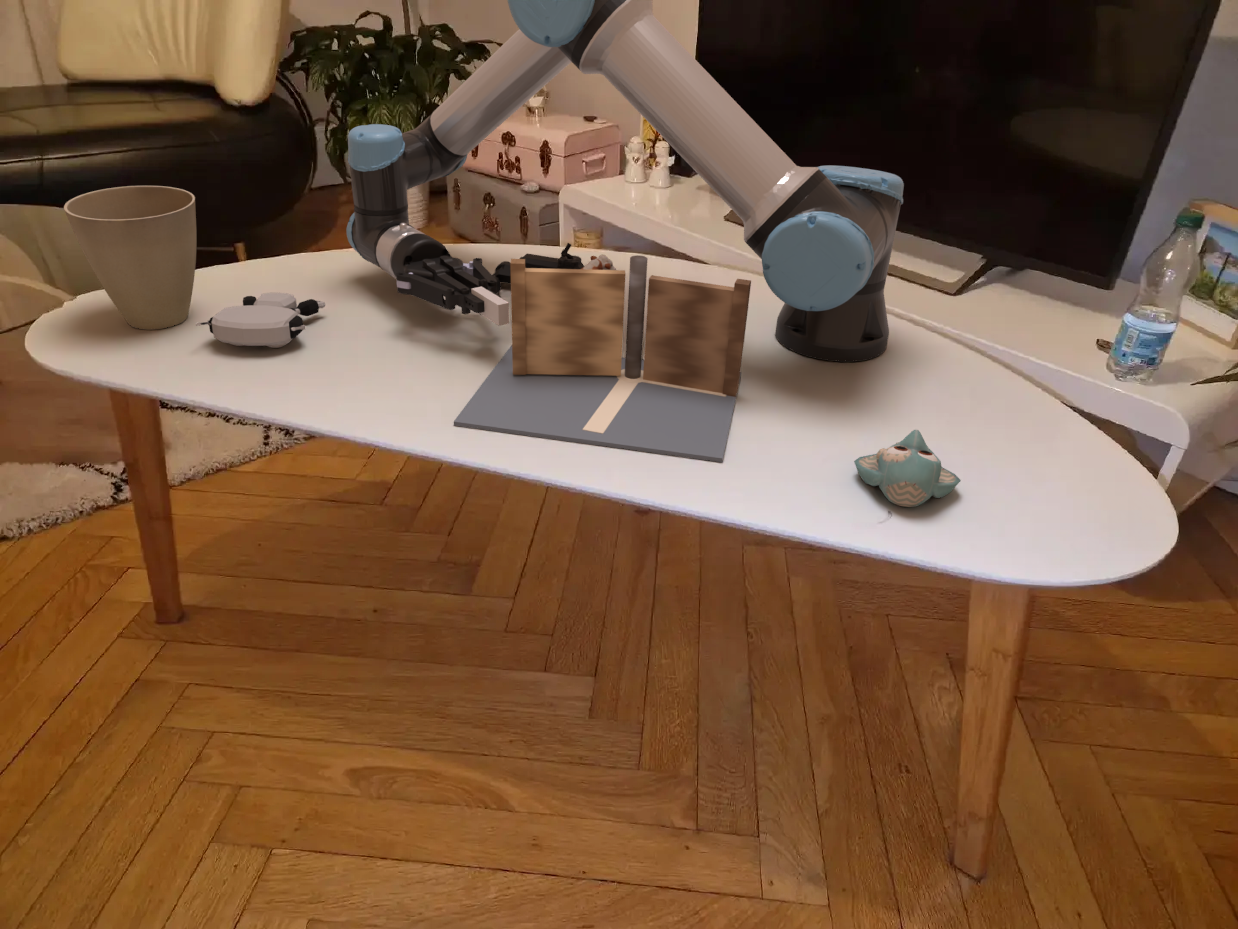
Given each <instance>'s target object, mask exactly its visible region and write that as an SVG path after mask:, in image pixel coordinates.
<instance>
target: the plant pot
mask: <svg viewBox="0 0 1238 929" xmlns="http://www.w3.org/2000/svg"><path fill="white" fill-rule="evenodd" d="M63 210H64V213H65V215H66V217H67V219H68V222H69V224H70V226H71V228H72V230H73V233H74V235H75V238H76V240H77V242H78V244H79V247H80V249H81V250H82V252H83V254H84V256H85V259H86V260H87V262H88V264H89V265H90V267H91V269H92V271H93V273H94V275H95V276H96V278H97V280H98V282H99V283H100V285H101V286H102V288H103V289H104V291H105V292H106V294H107V296H108V298H109V299H110V300H111V301H112V303H113V304H114V306H115V308H116V309H117V310H118V311H119V313H120V314H121V316H122V317H123V318H124V320H125V321H126V322H127V323H128V325H129V326H130V325H131V327H132V328H134V327H135V329H138V328H139V330H147V331H148V330H150V331H151V330H161V329H168V328H171V327H174V325H175V326H177V325H179V324H182V323H183V322H185V321H186V320H187V319H188V316H189V312H190V308H191V307H190V306H191V302H192V295H193V291H194V284H195V283H194V281H195V274H196V265H197V264H196V263H197V218H196V217H197V216H196V214H197V212H196V196H195V195H194V194H193V193H192V192H190V191H188V190H185V189H183V188H177V187H172V186H163V185H127V186H117V187H116V186H115V187H111V188H110V187H109V188H103V189H98V190H94V191H93V190H92V191H90V192H86V193H82V194H80V195H77V196H75V197H73V198H70V199H69V200H68V201H66V202H65V204H64V205H63ZM167 327H168V328H167Z"/></svg>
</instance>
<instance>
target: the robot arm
mask: <svg viewBox="0 0 1238 929" xmlns="http://www.w3.org/2000/svg"><path fill="white" fill-rule="evenodd" d="M653 2H654V1H653V0H507V4H508V9H509V12H510V14H511V16H512V18H513V21H514V23H515V25H516V26H517V28H518V30H516V31H515V32H514V33H513V34H512V35H511V36H510V37H509V38H508V39H507V40H506V41H505V42H504V43H503V44H502V45H501V46H500V47H499V48H498V49H497V50H495V51H494V52H493V54H492V55H491V56H490V57H489V58H488V59H486V61H484V63H482V64H481V65H480V66H479V67H478V68H477V69H476V70H475V71H474V72H473V73H472V74H471V75H470V76H469V77H468V78H466V80H464V81H463V83H462V84H460V85H459V87H457V88H456V89H455V90H454V91H453V92H452V93H451V94H450V95H449V96H448V97H447V98H446V99H445V100H444V101H442V103H441V104H440V105H439V106H437V107H436V109H434V110H433V111H432V113H431V114H430V115H429V116H428V117H426V118H425V119H424V120H423V122H421V123H420V124H419V125H418V126H416V127H415V128H414V129H411V130H408V131H406V132H402V131H401V129H400V128H398V127H396V126H393V125H390V124H389V125H388V124H381V123H380V124H379V123H373V124H367V125H366V124H365V125H364V124H362V125H358V126H355V127H353V128H352V129H350V130H349V132H348V134H347V148H348V150H347V151H348V155H347V156H348V157H347V163H348V166H349V172H350V173H349V174H350V181H351V188H352V190H351V191H352V198H353V207H354V208H353V213H352V214H351V216H350V217H349V221H348V222H347V226H346V229H345V230H346V237H347V241H348V243H349V245H350V246H351V248H352V249H353V250H354V251H355V252H357V253H358V254H359V256H361V258H362V259H364V260H365V261H367V262H369V263H371V264H373V265H375V266H377V267H378V268H380V269H381V270H382V271H384V272H385V273H386V274H388V275H389V276H390V277H392V278H393V279H395V280H396V290H397V293H398V294H401V295H402V294H403V295H409V296H412V297H415V298H418V299H420V300H423V301H425V302H427V303H431V304H432V305H435V306H438V307H440V308H443V309H446V310H450V311H453V310H455V309H456V307H457V306H458V307H459V308H461V314H463V315H469V314H471V313H472V312H473V313H476V314H480V315H481V316H483V317H484V318H486V319H487V320H489V321H491V323H494V324H495V325H497V326H504V325H508V324H510V303H509V302H508V301H506V300H505V299H503V298H502V296H501V295H499V294H498V293H497V280H496V279H495V278H494V277H493V276H492V275H493V274H492V273H491V272H490V271H489V270H488V269H487V268H486V267H485V266H484V265H483V259H482V258H480V257H475V258H473V260H472V261H471V260H470V261H468V262H467V263H465V262H463V260H462V259H461V258H458V257H453V256H452V255H451V254H450V252H449V251H448V249H447V248H446V246H445V244H443V243H442V242H440V241H438V240H436V239H435V238H433V237H431V236H430V235H428V234H425V233H424V232H422V231H420V230H418V229H416V228H415V227H414V226H412V225H410V222H409V203H408V190H409V189H412V188H415V187H418V186H420V185H423V184H425V183H428V182H431V181H434V180H437V179H440V178H443V177H447V176H449V175H452V174H453V173H454V172H455V171H457V170H459V169H460V168H462V167H463V166H464V164H465V163H466V161H467V159H468V154H469V153H470V152H471V151H473V150H474V149H475V148H476V147H477V146H479V144H481V142H483V141H484V140H486V138H487V137H489V135H491V134H492V133H493V132H494V131H495V130H496V129H497V128H499V127H500V126H501V125H502V124H504V123H505V122H506V121H507V120H508V119H509V118H510V117H511V116H513V115H514V114H515V113H516V111H518V110H519V109H521V107H523V105H525V104H526V103H527V102H528V101H529V100H530V99H532V98H533V96H536V94H537V93H539V91H541V90H542V89H543V88H544V87H545V86H546V85H547V84H549V83H550V82H551V81H552V80H553V79H554V78H555V77H557V75H559V74H560V73H561V72H562V71H563V70H564V69H566V68H567V67H568V66H569V65H570V64H573V65H574V66H575V67H576V68H577V69H578V70H579V71H580V72H581V73H582V74H584V75H596V74H597V75H602V76H603V77H604V78H605V79H606V81H607V80H608V82H609V83H610V84H611V85H612V86H613V87H614V88H615V89H616V90H617V91H618V92H619V93H620V95H621V96H622V97H624V98H625V100H627V101H628V103H629V104H630V105H631V106H632V107H633V108H634V109H635V111H637V112H638V113H639V114H640V115H641V116H642V117H643V118H644V119H645V120H646V122H648V124H650V126H651V127H653V129H654V130H655V131H656V132H657V133H658V134H660V136H661V137H662V138H663V139H664V140H665V141H666V142H667V143H668V144H669V145H670V146H671V147H672V149H673V150H674V151H675V152H676V153H677V154H678V155H679V156H680V157H681V158H682V159H683V160H684V161H685V162H686V163H687V164H688V165H689V166H690V167H691V168H692V169H693V170H694V171H695V172H696V174H697V175H698V176H700V178H701V179H703V181H704V182H705V183H706V185H708V186H709V187H710V189H712V190H713V191H714V192H715V194H717V195H718V197H719V198H720V199H722V201H724V203H725V204H726V205H727V206H728V207H729V208H730V209H731V210H732V211H733V212H734V213H735V214H736V215H737V216H738V217H739V218H740V219H741V220H742V223H743V241H744V242H745V243H746V245H747V246H748V247H749V248H750V249H751V250H752V251H753V252H754V253H755V254H756V255H757V256H758V257H759V258H760V260H761V265H762V275H763V278H764V280H765V283H766V284H767V286H768V288H769V289H770V290H771V292H772V294H774V295H775V297H777V298H778V299H779V300H780V301H781V302H783V305H782V308H781V310H780V311H779V313H778V316H777V319H776V325H775V334H774V335H775V337H776V339H777V341H778V342H779V343H780V344H781V345H783V347H785V348H787V349H788V350H791V351H792V352H795V353H798V354H800V355H803V356H806V357H810V358H814V359H817V360H823V361H824V360H825V361H829V362H830V361H831V362H845V363H846V362H847V363H848V362H850V363H851V362H860V361H861V362H863V361H868V360H870V359H875V358H877V357H879V356H881V355H882V354H883V353H884V352H885V351H886V350H887V345H888V339H889V336H890V328H889V320H888V315H887V314H888V313H887V308H886V307H887V306H886V298H885V288H886V287H885V286H886V281H887V277H888V271H889V268H890V267H889V266H890V260H891V257H892V256H891V255H892V250H893V246H894V241H895V235H896V230H897V225H898V221H899V215H900V210H901V205H903V204H904V197H903V195H904V187H905V183H904V181H903V179H902V177H900V176H899V175H897V174H895V173H891V172H887V171H882V170H877V169H870V168H865V167H863V168H862V167H856V166H849V165H848V166H847V165H846V166H845V165H830V164H829V165H820V166H799V165H797V164H796V163H794V161H793V159H791V158H790V157H789V156H788V155H787V154H786V152H784V151H783V150H782V149H781V147H779V145H778V144H777V143H776V142H775V141H773V139H772V138H771V137H770V136H769V135H768V134H767V133H766V132H765V131H764V130H763V129H762V127H760V125H759V124H758V123H756V121H755V120H754V119H753V118H752V117H751V116H750V115H749V114H748V113H747V112H746V111H745V110H744V109H743V108H742V107H741V105H739V104H738V103H737V101H736V100H734V98H733V97H731V95H730V94H729V93H728V92H727V90H725V88H724V87H722V85H720V84H719V82H717V81H716V79H715V78H714V77H713V76H712V75H711V74H710V73H709V72H708V71H707V70H706V69H705V68H704V67H703V66H702V64H700V62H698V60H696V59H695V57H694V56H693V55H692V54H691V53H690V52H689V51H688V50H687V49H686V48H685V47H684V45H682V43H680V42H679V41H678V39H677V38H676V37H675V36H674V35H673V34H671V32H670V31H669V30H668V29H667V28H666V27H665V26H664V25H663V24H662V23H661V21H659V20H658V19H657V17H655V15H654V12H653V10H654V9H653V7H654V5H653ZM471 311H472V312H471Z"/></svg>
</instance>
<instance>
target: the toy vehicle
mask: <svg viewBox="0 0 1238 929" xmlns="http://www.w3.org/2000/svg"><path fill="white" fill-rule="evenodd" d="M571 247H572V244H571V243H569V242H567V244H566V246H565V247H564V248H563V249H562V250H561V252H560V255H561V256H560V257H559V258H557V257H554V256H553V257H552V256H545V255H541V254H540V255H539V254H533V253H527V252H526V253H525V255H524V256H521V257H520V258H518V259H525V268H545V269H582V268H583V267H585V266H586V265H584V264H583V261H582V257H580V256H579V255H571V254H570V253H568V252H569V251H570V249H571ZM510 263H511V261H507V260H505V261H501V262H500V263H499V264H497V266H496V267H495V269H494V273H493V274H491V275H492V276H493V277H494V278H495V279H496V280H497V294H498V293H500V291H501V289H502V284H503V283H504V284H509V285H511V266H510Z"/></svg>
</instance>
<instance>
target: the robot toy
mask: <svg viewBox="0 0 1238 929" xmlns="http://www.w3.org/2000/svg"><path fill="white" fill-rule="evenodd" d="M325 307H326V302H325V301H321V300H319V299H318V300H315V299H312V298H311V299H310V298H309V299H306V300H303V301H301V302H299V303H298V304H297V299H296V297H295V295H294V294H291V293H287V292H265V293H261V294H260V296H259V297H257V298H256V296H252V295H246V296H245V297H243V298H242V305H234V306H229V307H224V308H223V309H221V310H220V311H219V312H217V313H216V314H214V315H213V316H211V317H210V319H209V320H207V321H202V322H199V321H197V322H195V326H196V327H198V326H204V325H208V326H209V332H210V333H211V334H212V335H213V338H215V339H217V340H218V341H220V342H221V343H225V344H230V345H233V346H235V347H242V346H244V347H245V346H249V347H250V346H252V347H253V346H255V347H256V346H258V347H259V346H263V347H265V346H267V347H268V348H271V349H278V348H282V347H284V346H286V345H287V344H288V343H290V342H291V341H292V340H293V339H296V337H297V336H298V335H299V334H301V333H302V332H303V331H305V330H306V324H304V320H303V317H310V316H313V315H315V314H318V313H319V309H323V308H325ZM300 315H301V316H303V317H301V316H300Z"/></svg>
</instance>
